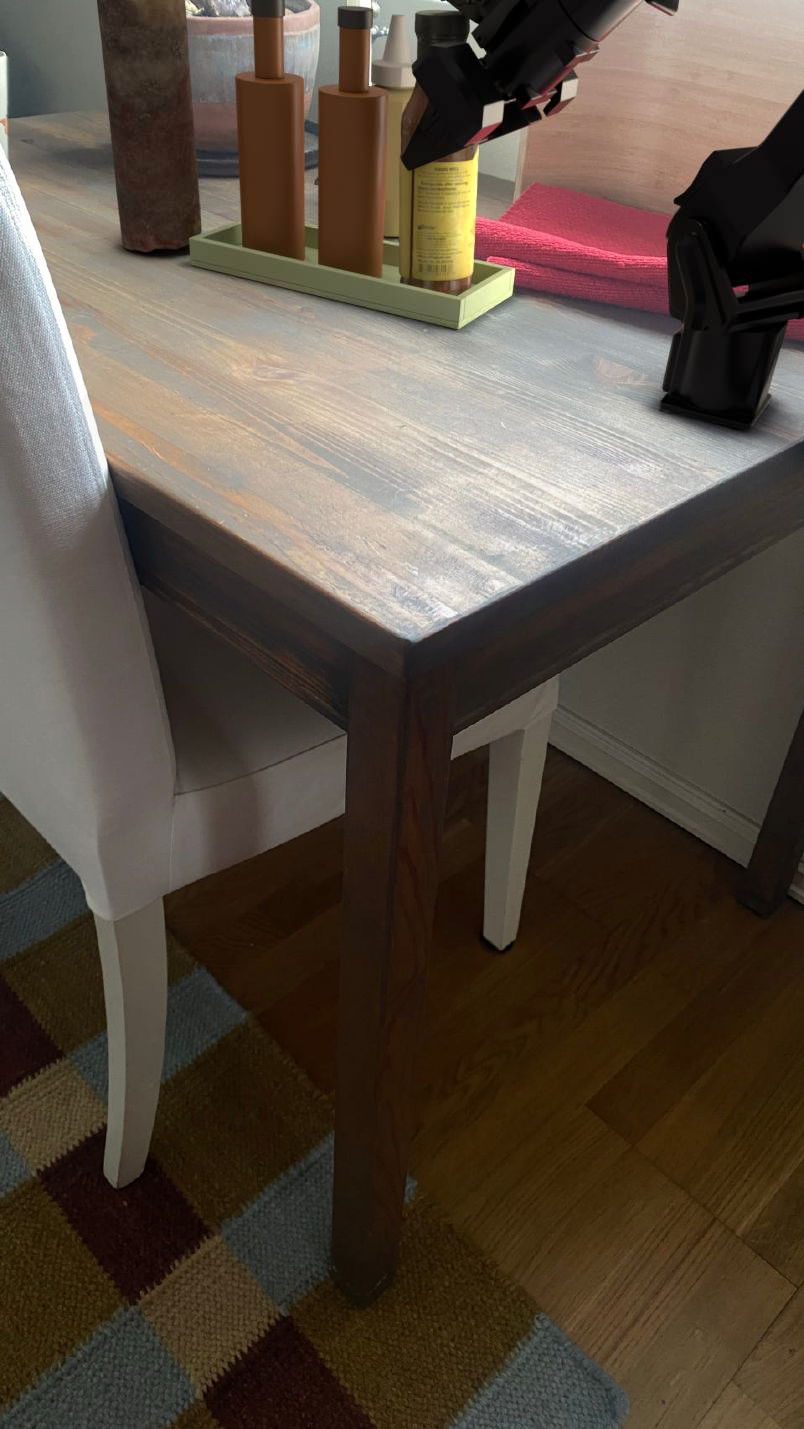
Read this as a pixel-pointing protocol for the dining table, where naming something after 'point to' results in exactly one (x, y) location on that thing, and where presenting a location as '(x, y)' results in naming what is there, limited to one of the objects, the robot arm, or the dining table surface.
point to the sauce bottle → (437, 187)
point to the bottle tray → (353, 283)
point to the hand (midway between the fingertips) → (425, 158)
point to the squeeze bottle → (394, 110)
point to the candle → (151, 121)
